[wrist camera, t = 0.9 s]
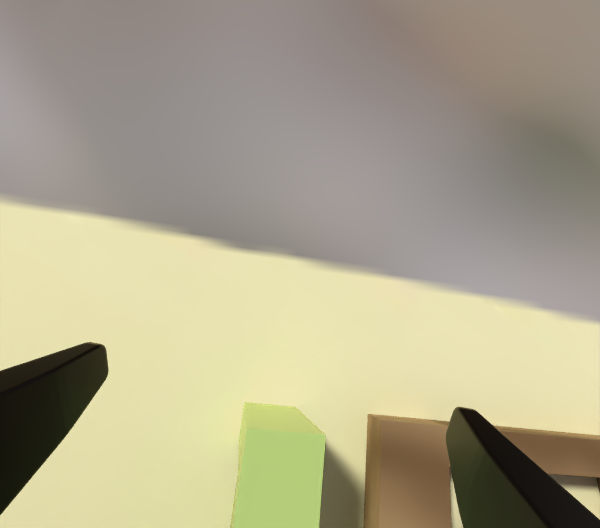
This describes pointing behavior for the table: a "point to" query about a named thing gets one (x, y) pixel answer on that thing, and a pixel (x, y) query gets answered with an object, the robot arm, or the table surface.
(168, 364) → the table surface
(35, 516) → the table surface
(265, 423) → the green bridge block
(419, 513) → the wooden peg frame
